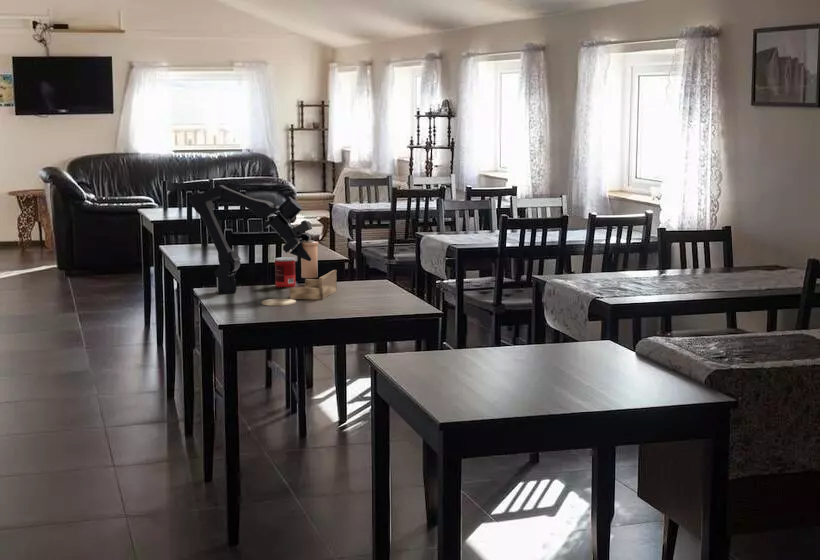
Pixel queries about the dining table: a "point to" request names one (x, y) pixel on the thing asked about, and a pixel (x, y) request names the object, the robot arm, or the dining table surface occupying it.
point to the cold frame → (316, 287)
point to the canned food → (285, 272)
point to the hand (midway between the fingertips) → (312, 259)
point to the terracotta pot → (310, 267)
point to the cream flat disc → (278, 302)
